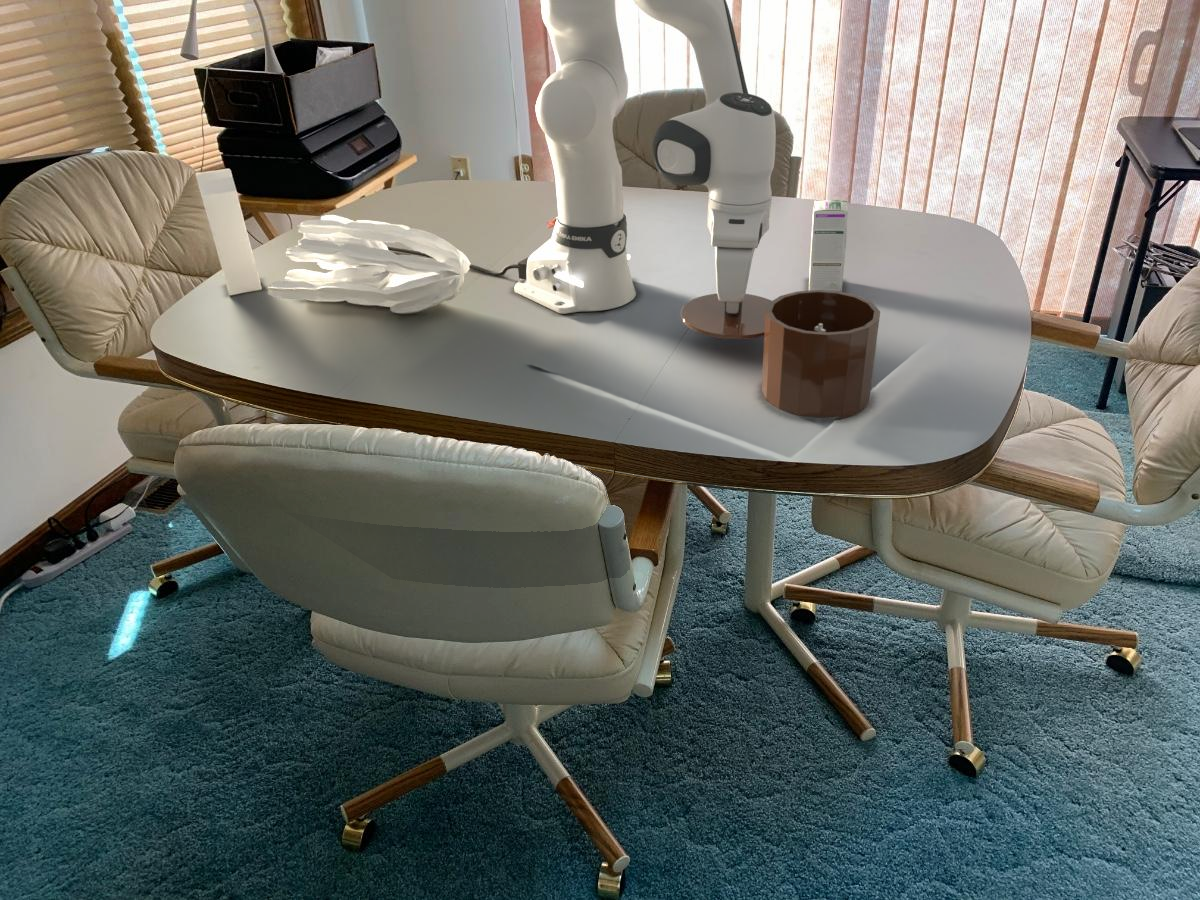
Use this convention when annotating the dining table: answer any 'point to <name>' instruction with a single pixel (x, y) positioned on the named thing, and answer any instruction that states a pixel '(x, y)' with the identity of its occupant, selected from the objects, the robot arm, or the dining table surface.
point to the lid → (726, 317)
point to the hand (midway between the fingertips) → (733, 306)
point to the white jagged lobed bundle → (372, 266)
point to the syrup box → (828, 245)
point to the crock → (819, 353)
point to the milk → (229, 231)
